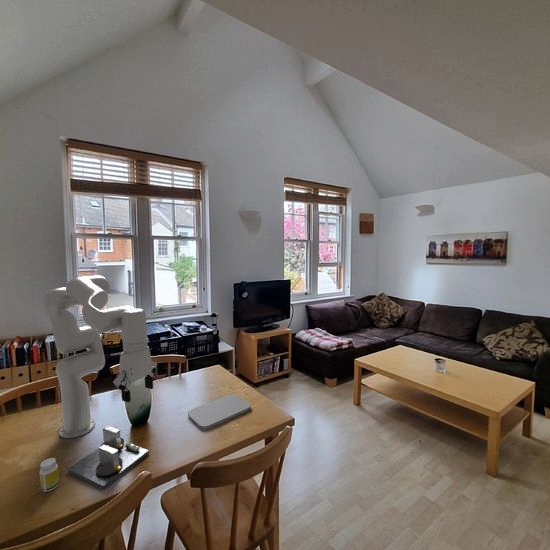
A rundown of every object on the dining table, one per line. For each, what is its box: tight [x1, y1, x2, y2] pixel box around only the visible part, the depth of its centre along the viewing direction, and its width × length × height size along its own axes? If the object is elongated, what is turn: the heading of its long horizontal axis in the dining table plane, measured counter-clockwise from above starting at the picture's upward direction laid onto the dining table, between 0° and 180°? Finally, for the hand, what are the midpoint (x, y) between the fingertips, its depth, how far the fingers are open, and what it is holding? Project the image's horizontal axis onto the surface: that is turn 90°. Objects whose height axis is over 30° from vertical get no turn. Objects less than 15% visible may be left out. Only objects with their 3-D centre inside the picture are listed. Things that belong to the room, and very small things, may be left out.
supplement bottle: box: [39, 457, 60, 493], centre depth 97 cm, size 5×5×8 cm
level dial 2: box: [99, 425, 125, 450], centre depth 113 cm, size 9×8×7 cm
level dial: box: [96, 445, 123, 477], centre depth 103 cm, size 9×8×7 cm
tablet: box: [187, 393, 251, 430], centre depth 139 cm, size 16×26×2 cm, turn 131°
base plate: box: [67, 440, 149, 491], centre depth 107 cm, size 18×18×3 cm
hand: (138, 394), depth 104 cm, fingers open, 9 cm apart
